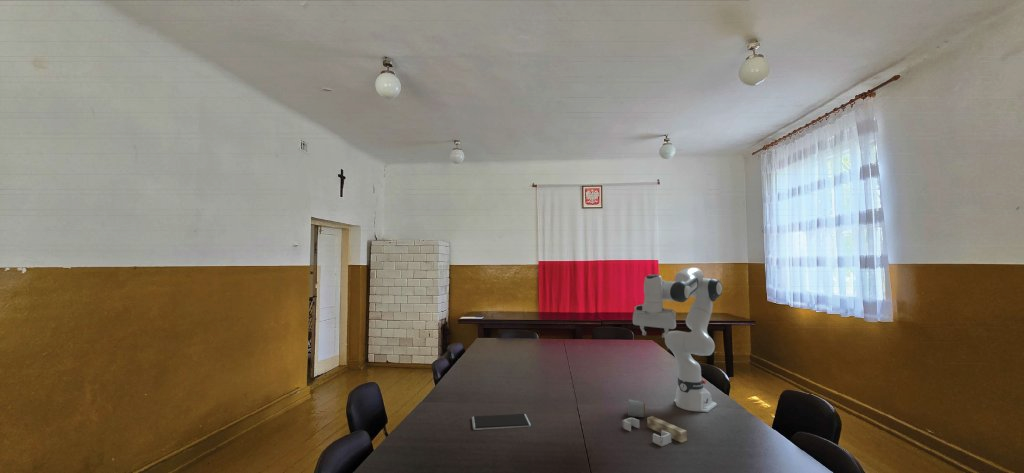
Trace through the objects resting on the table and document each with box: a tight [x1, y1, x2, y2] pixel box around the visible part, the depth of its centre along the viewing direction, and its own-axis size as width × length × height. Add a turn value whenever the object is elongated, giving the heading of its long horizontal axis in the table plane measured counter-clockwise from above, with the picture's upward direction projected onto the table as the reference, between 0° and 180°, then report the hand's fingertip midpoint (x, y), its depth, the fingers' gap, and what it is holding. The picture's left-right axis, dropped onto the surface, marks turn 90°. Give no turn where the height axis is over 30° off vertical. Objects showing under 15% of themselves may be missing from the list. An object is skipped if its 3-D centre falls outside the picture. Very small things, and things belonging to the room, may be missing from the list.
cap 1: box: [621, 416, 640, 432], centre depth 178 cm, size 4×7×4 cm
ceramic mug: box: [627, 398, 646, 418], centre depth 193 cm, size 11×8×8 cm
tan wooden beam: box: [646, 415, 688, 443], centre depth 172 cm, size 18×4×4 cm, turn 30°
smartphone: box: [471, 413, 531, 431], centre depth 183 cm, size 13×27×2 cm, turn 99°
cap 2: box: [652, 430, 673, 447], centre depth 164 cm, size 4×7×4 cm
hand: (654, 336), depth 186 cm, fingers open, 8 cm apart
